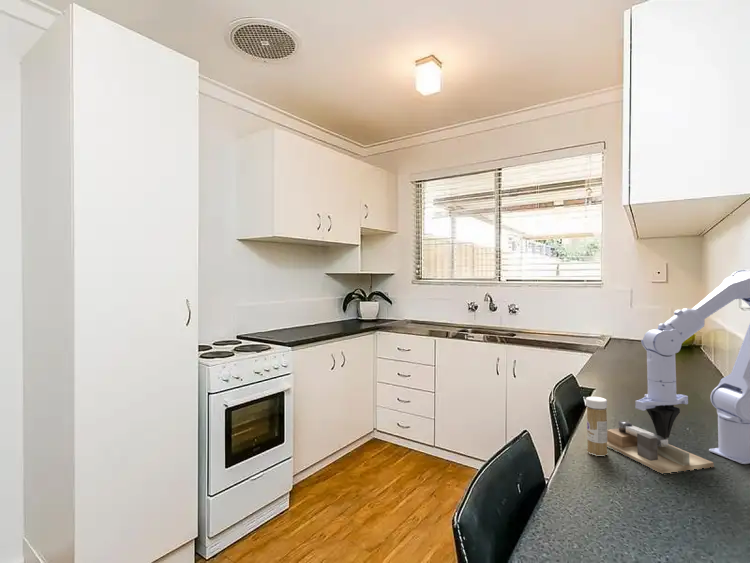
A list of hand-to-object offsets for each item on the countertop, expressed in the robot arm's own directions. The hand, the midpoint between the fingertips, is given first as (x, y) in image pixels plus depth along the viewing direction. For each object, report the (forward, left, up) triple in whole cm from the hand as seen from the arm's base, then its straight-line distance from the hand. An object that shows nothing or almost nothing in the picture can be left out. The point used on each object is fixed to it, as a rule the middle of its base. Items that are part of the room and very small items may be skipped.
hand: (662, 436), depth 102 cm
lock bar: (+4, -2, 0) cm, 5 cm away
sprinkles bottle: (+15, -5, -4) cm, 16 cm away
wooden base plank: (+3, -1, -4) cm, 5 cm away
